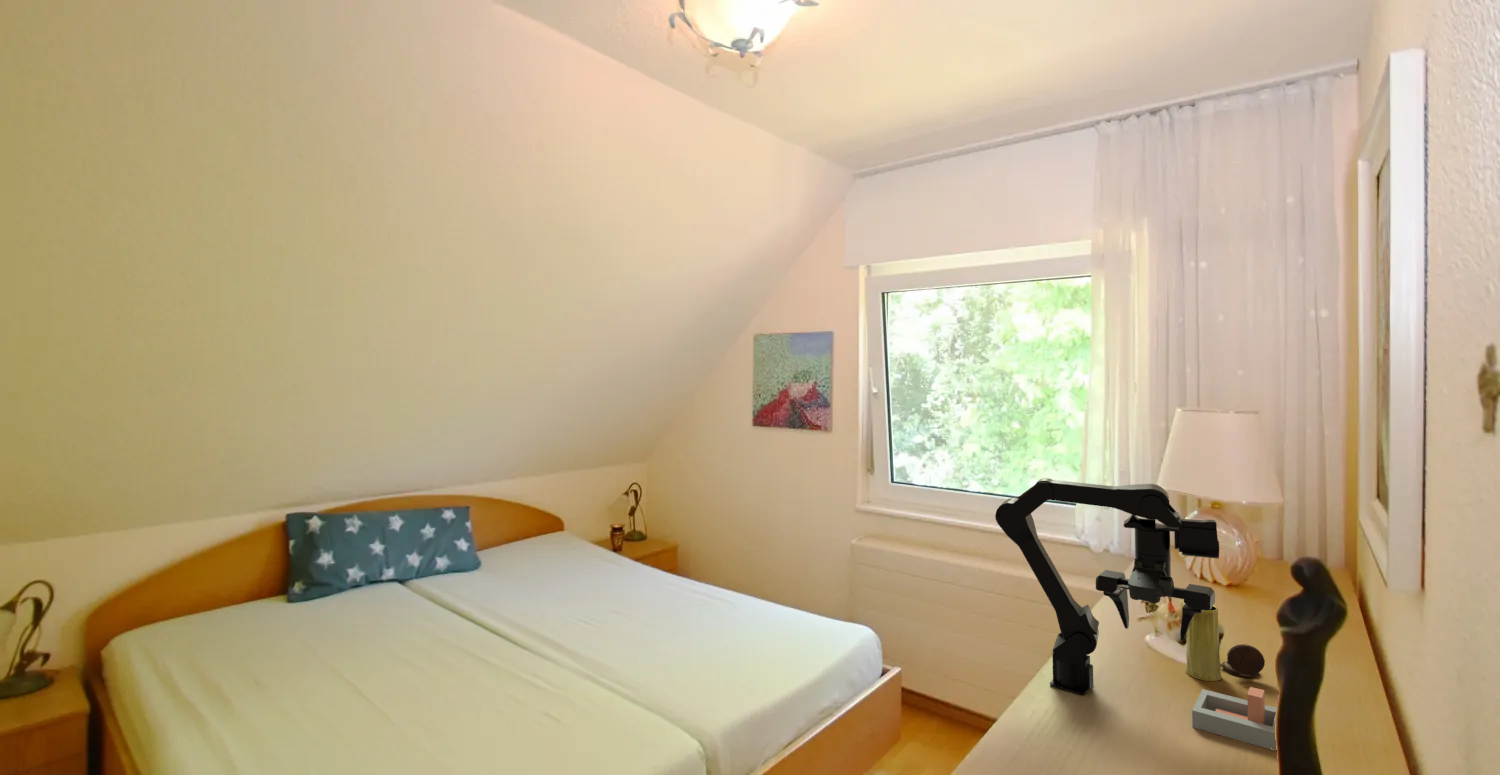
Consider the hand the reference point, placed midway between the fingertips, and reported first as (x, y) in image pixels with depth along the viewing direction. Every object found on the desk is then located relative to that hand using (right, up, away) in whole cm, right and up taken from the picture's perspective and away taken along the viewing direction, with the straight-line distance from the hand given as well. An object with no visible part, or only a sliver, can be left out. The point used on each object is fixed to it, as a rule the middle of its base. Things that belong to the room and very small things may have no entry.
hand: (1153, 633), depth 126 cm
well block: (+9, -13, -9) cm, 18 cm away
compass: (+24, -12, +11) cm, 29 cm away
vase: (+16, -12, +10) cm, 23 cm away
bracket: (+9, -13, -9) cm, 18 cm away
